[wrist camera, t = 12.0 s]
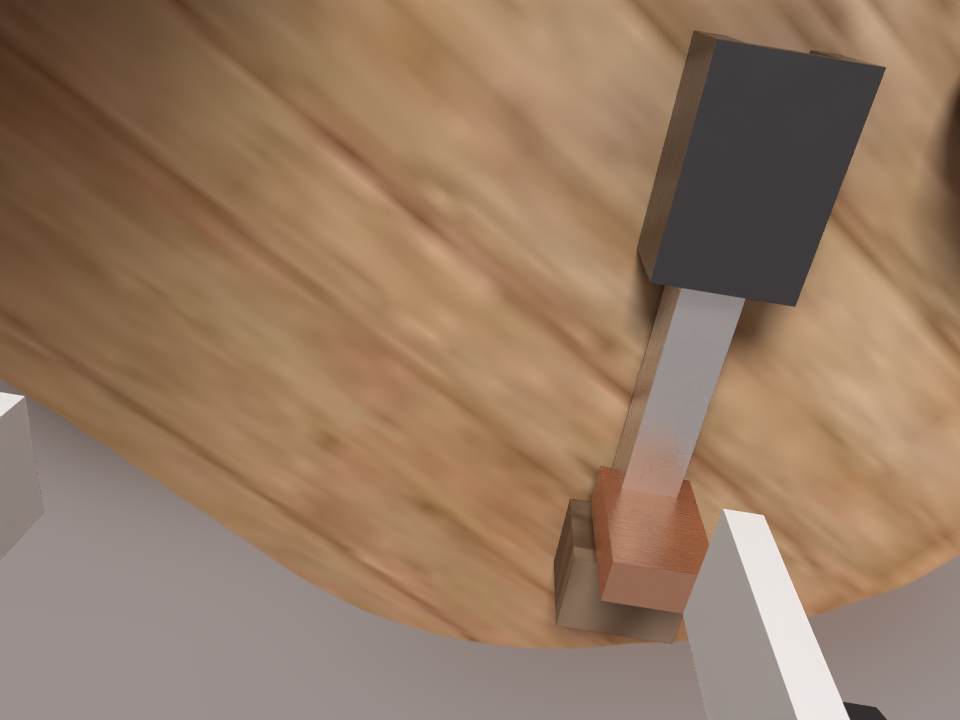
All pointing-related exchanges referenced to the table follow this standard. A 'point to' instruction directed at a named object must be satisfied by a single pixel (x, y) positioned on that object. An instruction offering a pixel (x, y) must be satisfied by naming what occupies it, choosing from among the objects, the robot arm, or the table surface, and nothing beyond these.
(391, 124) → the table surface
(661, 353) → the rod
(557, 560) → the socket
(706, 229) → the sleeve
